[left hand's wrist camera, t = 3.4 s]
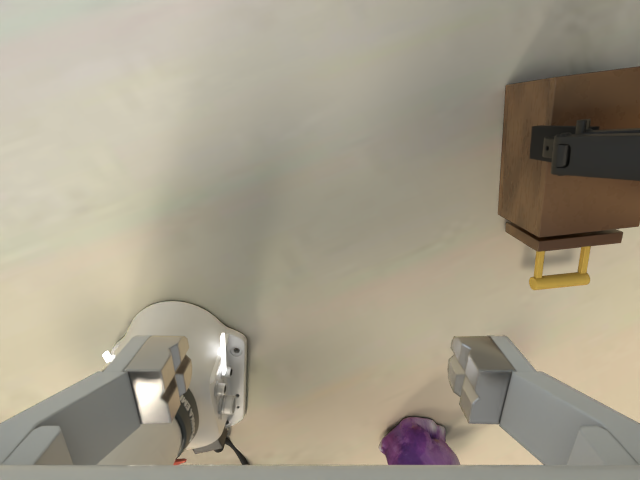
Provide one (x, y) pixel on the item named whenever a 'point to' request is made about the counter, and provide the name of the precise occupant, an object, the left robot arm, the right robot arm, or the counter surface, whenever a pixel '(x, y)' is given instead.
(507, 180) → the wooden drawer cabinet
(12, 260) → the counter surface
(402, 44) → the counter surface
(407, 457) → the figurine
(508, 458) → the counter surface
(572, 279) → the drawer
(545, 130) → the right robot arm
